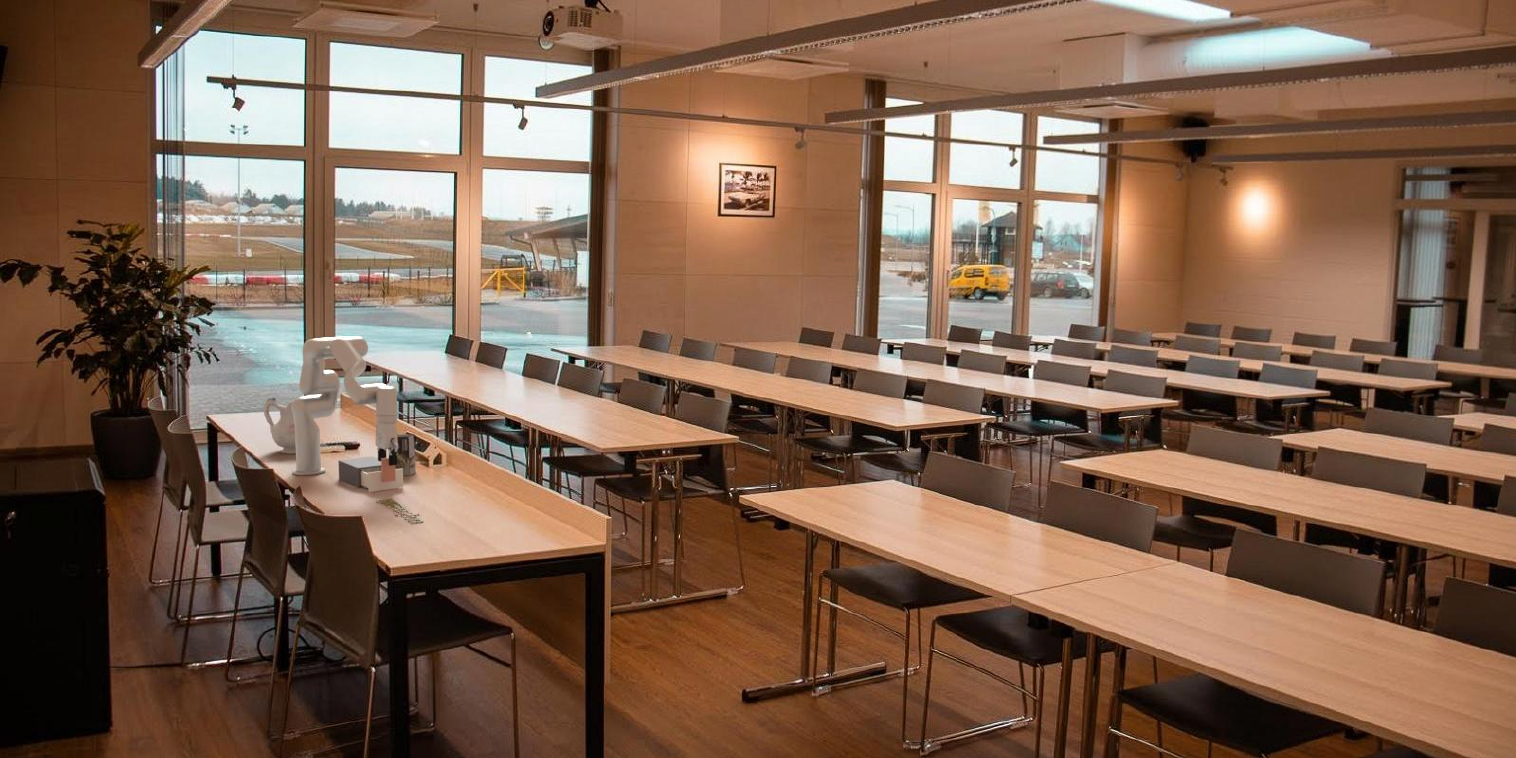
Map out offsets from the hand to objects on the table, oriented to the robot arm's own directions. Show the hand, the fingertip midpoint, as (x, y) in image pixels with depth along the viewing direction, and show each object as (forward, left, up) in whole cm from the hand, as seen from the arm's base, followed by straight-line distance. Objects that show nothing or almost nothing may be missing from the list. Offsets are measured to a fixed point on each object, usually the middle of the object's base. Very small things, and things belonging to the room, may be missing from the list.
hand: (387, 463), depth 458 cm
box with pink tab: (-10, 0, -11) cm, 14 cm away
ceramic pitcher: (-101, 0, -11) cm, 102 cm away
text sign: (+33, -10, -12) cm, 36 cm away
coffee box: (-27, +18, -11) cm, 35 cm away
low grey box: (-21, 0, -11) cm, 24 cm away
